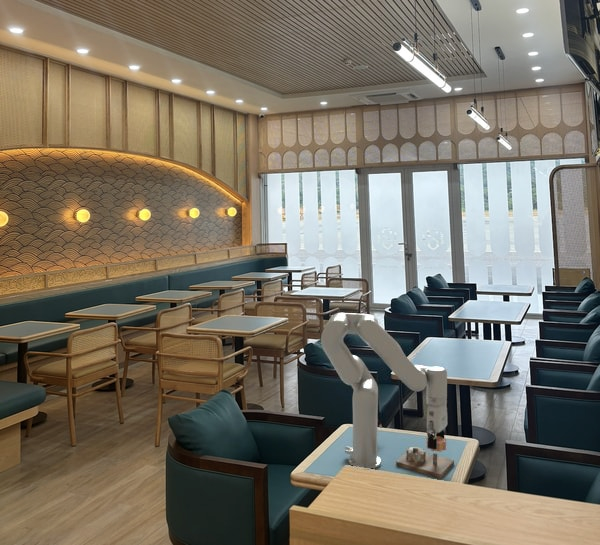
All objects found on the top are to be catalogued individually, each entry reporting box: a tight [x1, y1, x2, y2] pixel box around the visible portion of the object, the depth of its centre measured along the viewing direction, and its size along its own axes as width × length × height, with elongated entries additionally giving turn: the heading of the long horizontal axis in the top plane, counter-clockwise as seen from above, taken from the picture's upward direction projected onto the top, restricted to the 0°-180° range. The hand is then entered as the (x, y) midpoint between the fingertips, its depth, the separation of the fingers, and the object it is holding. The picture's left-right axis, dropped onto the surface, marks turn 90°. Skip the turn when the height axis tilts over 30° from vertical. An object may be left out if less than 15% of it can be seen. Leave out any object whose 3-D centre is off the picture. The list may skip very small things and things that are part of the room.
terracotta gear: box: [426, 436, 447, 452], centre depth 200 cm, size 7×7×3 cm
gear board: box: [395, 446, 455, 479], centre depth 203 cm, size 18×14×6 cm
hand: (436, 444), depth 200 cm, fingers closed on terracotta gear, 7 cm apart
